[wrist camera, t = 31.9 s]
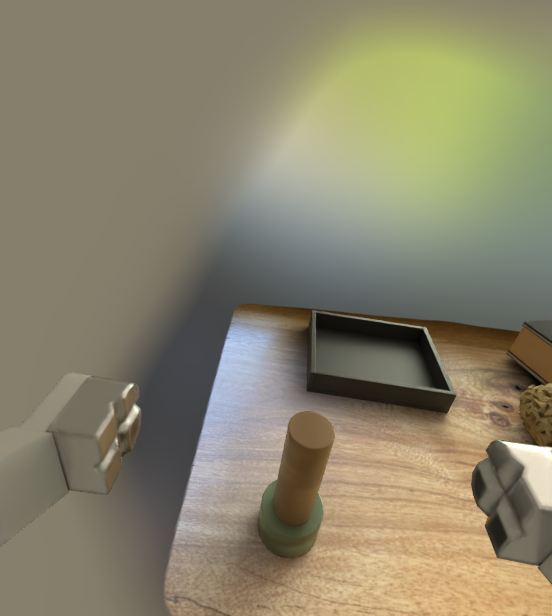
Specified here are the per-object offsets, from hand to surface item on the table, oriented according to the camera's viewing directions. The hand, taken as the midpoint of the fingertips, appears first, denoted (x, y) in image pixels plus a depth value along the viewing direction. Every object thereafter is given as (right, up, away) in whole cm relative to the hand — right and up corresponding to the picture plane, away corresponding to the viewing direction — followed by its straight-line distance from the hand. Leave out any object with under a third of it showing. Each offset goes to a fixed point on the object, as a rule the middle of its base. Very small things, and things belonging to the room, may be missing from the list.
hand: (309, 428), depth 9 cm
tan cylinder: (0, -16, +23) cm, 28 cm away
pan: (+12, -5, +43) cm, 45 cm away
